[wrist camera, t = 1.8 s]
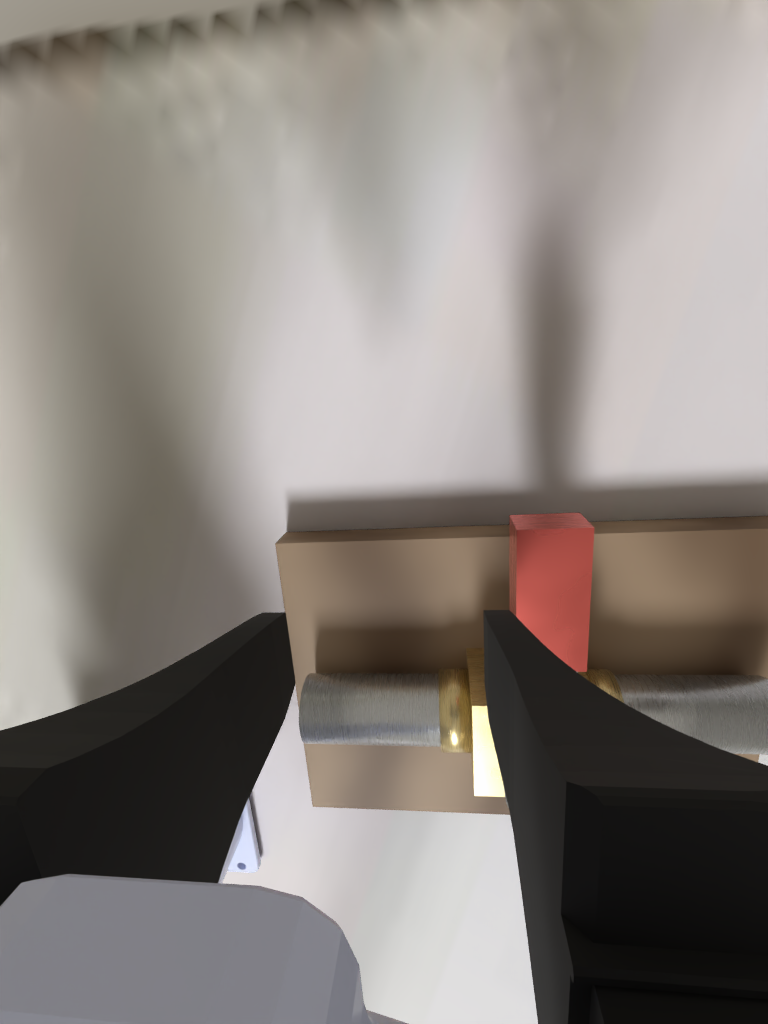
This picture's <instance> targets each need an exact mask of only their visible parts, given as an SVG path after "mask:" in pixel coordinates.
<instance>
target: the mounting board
mask: <svg viewBox="0 0 768 1024" xmlns="http://www.w3.org/2000/svg"><path fill="white" fill-rule="evenodd" d="M589 523H590V524H591V525H592V526H593V527H594V546H593V565H592V584H591V603H590V622H589V640H588V659H587V669H608V670H610V671H611V672H612V673H613V675H760V676H763V677H765V678H767V679H768V516H752V517H722V518H693V519H663V520H633V521H604V522H589ZM275 545H276V552H277V559H278V566H279V573H280V580H281V587H282V594H283V601H284V608H285V612H286V618H287V625H288V632H289V639H290V646H291V653H292V660H293V667H294V674H295V681H296V683H295V685H296V692H297V699H298V706H299V707H300V698H301V692H302V688H303V684H304V681H305V679H306V677H307V675H308V674H309V673H394V674H439V669H467V652H466V648H484V617H483V610H509V525H485V526H455V527H426V528H396V529H367V530H337V531H307V532H286V533H285V534H284V535H283V536H282V537H281V538H280V539H279V540H278V541H277V543H276V544H275ZM304 748H305V755H306V762H307V769H308V776H309V783H310V790H311V797H312V804H313V807H334V808H359V809H383V810H408V811H433V812H457V813H482V814H506V815H510V811H509V808H508V806H507V803H506V800H505V797H495V796H474V786H473V774H472V762H471V753H444V752H441V747H426V746H384V745H342V744H305V743H304ZM736 755H739V756H741V757H744V758H747V759H750V760H753V761H755V762H758V759H759V754H736Z"/></svg>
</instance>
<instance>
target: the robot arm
mask: <svg viewBox="0 0 768 1024" xmlns="http://www.w3.org/2000/svg"><path fill="white" fill-rule="evenodd" d="M483 617H484V682H485V692H486V702H487V711H488V719H489V725H490V729H491V733H492V738H493V742H494V747H495V751H496V755H497V759H498V764H499V768H500V772H501V777H502V781H503V785H504V789H505V794H506V798H507V802H508V807H509V811H510V816H511V822H512V827H513V832H514V839H515V847H516V854H517V861H518V869H519V876H520V883H521V891H522V899H523V906H524V914H525V922H526V929H527V937H528V945H529V953H530V961H531V969H532V977H533V985H534V993H535V1001H536V1009H537V1017H538V1024H768V766H767V765H764V764H761V763H758V762H755V761H753V760H750V759H747V758H744V757H741V756H739V755H736V754H733V753H730V752H727V751H725V750H722V749H719V748H717V747H714V746H712V745H709V744H707V743H705V742H702V741H700V740H698V739H695V738H693V737H691V736H688V735H686V734H684V733H682V732H679V731H677V730H675V729H673V728H671V727H669V726H667V725H664V724H662V723H660V722H658V721H656V720H654V719H652V718H650V717H649V716H647V715H645V714H643V713H641V712H639V711H637V710H636V709H634V708H632V707H630V706H628V705H626V704H625V703H623V702H621V701H620V700H618V699H616V698H614V697H613V696H611V695H610V694H608V693H607V692H605V691H604V690H602V689H600V688H599V687H597V686H596V685H594V684H593V683H591V682H590V681H588V680H587V679H586V678H584V677H583V676H581V675H580V674H579V673H577V672H576V671H575V670H574V669H572V668H571V667H570V666H568V665H567V664H566V663H565V662H563V661H562V660H561V659H560V658H558V657H557V656H556V655H555V654H554V653H553V652H552V651H550V650H549V649H548V648H547V647H546V646H545V645H544V644H543V643H542V642H541V641H540V640H539V639H538V638H537V637H536V636H535V635H534V634H533V633H532V632H531V631H530V630H529V629H528V628H527V627H526V626H525V625H524V624H523V623H522V622H521V621H520V620H519V619H518V618H517V617H516V616H515V615H514V614H513V613H512V612H511V611H510V610H483ZM295 683H296V681H295V674H294V667H293V660H292V653H291V646H290V639H289V632H288V625H287V618H286V612H285V613H261V614H259V615H257V616H255V617H253V618H251V619H249V620H248V621H246V622H244V623H242V624H241V625H239V626H237V627H236V628H234V629H232V630H231V631H229V632H227V633H226V634H224V635H222V636H221V637H219V638H218V639H216V640H214V641H213V642H211V643H209V644H208V645H206V646H204V647H203V648H201V649H199V650H197V651H196V652H194V653H192V654H190V655H188V656H187V657H185V658H183V659H181V660H179V661H178V662H176V663H174V664H172V665H170V666H169V667H167V668H165V669H163V670H161V671H159V672H157V673H155V674H153V675H151V676H149V677H147V678H145V679H143V680H141V681H138V682H136V683H134V684H132V685H130V686H127V687H125V688H123V689H121V690H118V691H116V692H114V693H111V694H108V695H106V696H103V697H101V698H98V699H95V700H93V701H90V702H88V703H85V704H82V705H80V706H77V707H74V708H72V709H69V710H66V711H63V712H60V713H57V714H54V715H51V716H48V717H45V718H42V719H39V720H36V721H32V722H29V723H25V724H22V725H19V726H15V727H12V728H8V729H5V730H1V731H0V1024H407V1023H404V1022H401V1021H398V1020H395V1019H392V1018H389V1017H386V1016H383V1015H380V1014H377V1013H374V1012H371V1011H368V1010H366V1008H365V1005H364V1001H363V993H362V985H361V977H360V969H359V964H358V962H357V960H356V958H355V956H354V954H353V952H352V950H351V947H350V945H349V943H348V941H347V939H346V937H345V935H344V933H343V931H342V929H341V928H340V927H339V925H338V924H337V923H336V922H335V921H334V920H333V919H331V918H330V917H328V916H327V915H326V914H324V913H323V912H322V911H320V910H319V909H318V908H316V907H315V906H313V905H312V904H311V903H309V902H308V901H307V900H305V899H304V898H303V897H300V896H296V895H292V894H288V893H284V892H280V891H277V890H273V889H269V888H265V887H261V886H252V885H237V884H222V882H223V879H224V877H225V875H226V872H227V871H232V872H249V873H253V872H256V871H258V869H259V867H260V864H261V859H260V854H259V849H258V843H257V838H256V833H255V827H254V822H253V817H252V812H251V806H250V801H249V796H250V794H251V792H252V789H253V787H254V785H255V783H256V781H257V778H258V776H259V774H260V772H261V770H262V768H263V765H264V763H265V761H266V759H267V757H268V755H269V752H270V750H271V748H272V746H273V744H274V742H275V739H276V737H277V735H278V733H279V730H280V728H281V726H282V724H283V721H284V719H285V716H286V713H287V710H288V707H289V704H290V700H291V697H292V693H293V690H294V686H295Z"/></svg>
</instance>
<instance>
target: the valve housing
mask: <svg viewBox="0 0 768 1024" xmlns="http://www.w3.org/2000/svg"><path fill="white" fill-rule="evenodd" d="M466 652H467V669H439V674H394V673H309V674H308V675H307V677H306V679H305V681H304V684H303V688H302V692H301V698H300V707H299V727H300V734H301V738H302V740H303V742H304V743H305V744H342V745H384V746H426V747H441V752H444V753H471V762H472V774H473V786H474V796H495V797H505V794H504V787H503V781H502V777H501V772H500V768H499V764H498V759H497V755H496V751H495V747H494V742H493V738H492V733H491V729H490V725H489V719H488V711H487V702H486V692H485V682H484V648H466ZM578 673H579V674H580V675H581V676H583V677H584V678H586V679H587V680H588V681H590V682H591V683H593V684H594V685H596V686H597V687H599V688H600V689H602V690H604V691H605V692H607V693H608V694H610V695H611V696H613V697H614V698H616V699H618V700H620V701H621V702H623V703H625V704H626V705H628V706H630V707H632V708H634V709H636V710H637V711H639V712H641V713H643V714H645V715H647V716H649V717H650V718H652V719H654V720H656V721H658V722H660V723H662V724H664V725H667V726H669V727H671V728H673V729H675V730H677V731H679V732H682V733H684V734H686V735H688V736H691V737H693V738H695V739H698V740H700V741H702V742H705V743H707V744H709V745H712V746H714V747H717V748H719V749H722V750H725V751H727V752H730V753H733V754H764V755H768V679H767V678H765V677H763V676H760V675H613V673H612V672H611V671H610V670H608V669H587V672H578Z"/></svg>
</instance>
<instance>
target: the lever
mask: <svg viewBox="0 0 768 1024" xmlns="http://www.w3.org/2000/svg"><path fill="white" fill-rule="evenodd" d="M593 546H594V527H593V526H592V525H591V524H590V523H589V522H588V521H587V520H586V519H585V518H584V517H583V516H582V515H581V514H580V513H555V514H527V515H509V610H510V611H511V612H512V613H513V614H514V615H515V616H516V617H517V618H518V619H519V620H520V621H521V622H522V623H523V624H524V625H525V626H526V627H527V628H528V629H529V630H530V631H531V632H532V633H533V634H534V635H535V636H536V637H537V638H538V639H539V640H540V641H541V642H542V643H543V644H544V645H545V646H546V647H547V648H548V649H549V650H550V651H552V652H553V653H554V654H555V655H556V656H557V657H558V658H560V659H561V660H562V661H563V662H565V663H566V664H567V665H568V666H570V667H571V668H572V669H574V670H575V671H576V672H577V673H578V672H587V659H588V640H589V622H590V603H591V584H592V565H593ZM503 787H504V785H503ZM504 794H505V789H504ZM505 800H506V803H507V806H508V802H507V798H506V794H505ZM508 808H509V807H508Z"/></svg>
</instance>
